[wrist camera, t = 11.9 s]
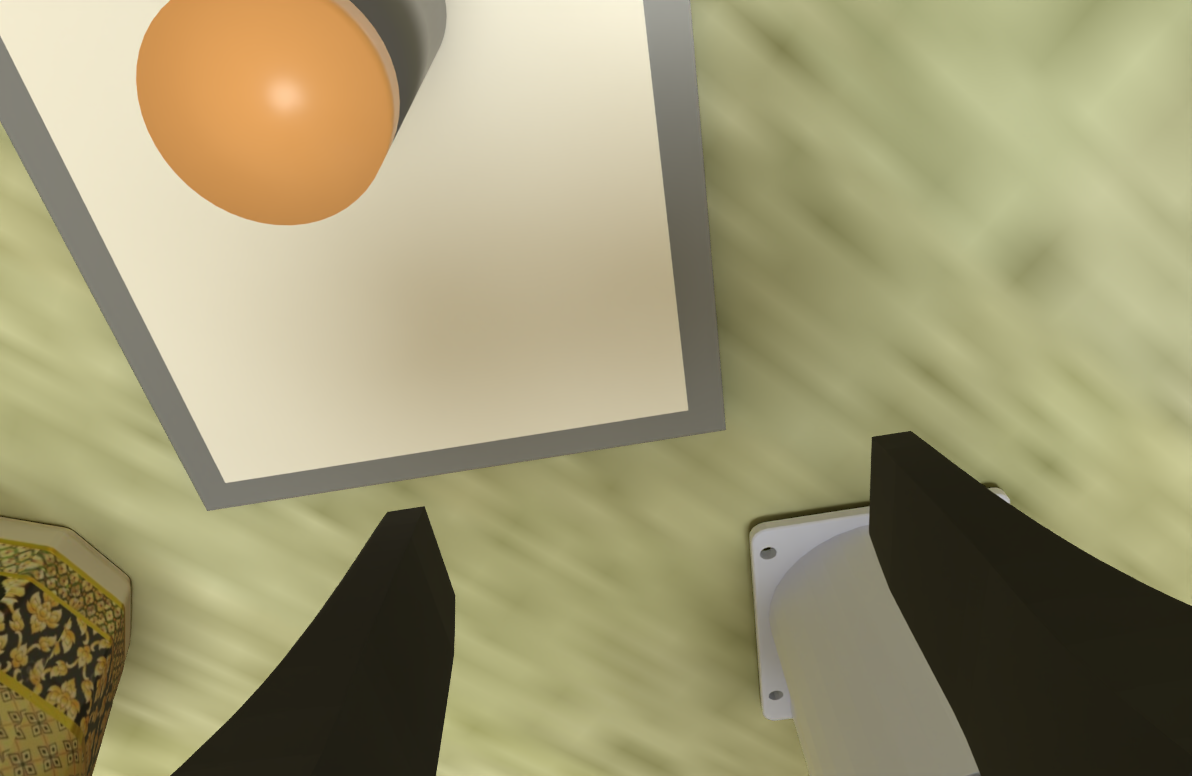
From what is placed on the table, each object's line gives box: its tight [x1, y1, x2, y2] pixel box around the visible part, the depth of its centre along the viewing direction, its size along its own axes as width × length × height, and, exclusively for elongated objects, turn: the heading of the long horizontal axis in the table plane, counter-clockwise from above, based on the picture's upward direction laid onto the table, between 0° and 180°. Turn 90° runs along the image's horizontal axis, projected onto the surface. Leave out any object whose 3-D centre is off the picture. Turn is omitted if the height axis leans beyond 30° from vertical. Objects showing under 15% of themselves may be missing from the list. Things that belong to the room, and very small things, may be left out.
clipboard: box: [0, 0, 726, 511], centre depth 18 cm, size 20×15×2 cm
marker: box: [136, 0, 447, 225], centre depth 14 cm, size 3×3×8 cm
